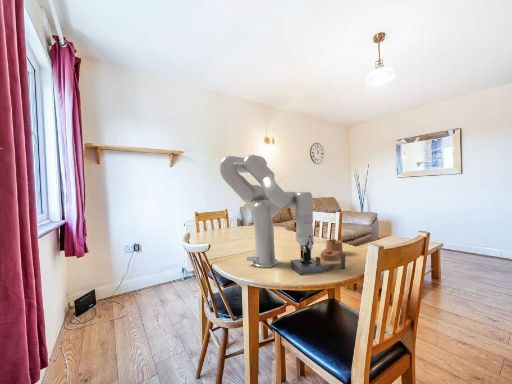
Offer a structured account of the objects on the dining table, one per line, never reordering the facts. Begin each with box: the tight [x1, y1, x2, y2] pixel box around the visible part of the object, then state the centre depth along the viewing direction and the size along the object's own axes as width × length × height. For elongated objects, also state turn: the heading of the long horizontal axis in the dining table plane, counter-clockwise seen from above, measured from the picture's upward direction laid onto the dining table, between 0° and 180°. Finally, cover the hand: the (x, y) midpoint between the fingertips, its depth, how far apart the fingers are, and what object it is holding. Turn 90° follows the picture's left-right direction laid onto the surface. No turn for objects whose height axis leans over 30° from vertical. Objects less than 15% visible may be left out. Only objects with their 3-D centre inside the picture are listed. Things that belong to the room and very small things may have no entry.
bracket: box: [320, 238, 344, 262], centre depth 124 cm, size 18×8×7 cm, turn 146°
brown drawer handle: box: [315, 253, 347, 272], centre depth 104 cm, size 14×2×6 cm, turn 101°
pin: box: [303, 244, 309, 265], centre depth 106 cm, size 3×3×10 cm
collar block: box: [290, 257, 324, 276], centre depth 106 cm, size 11×11×3 cm
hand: (305, 258), depth 106 cm, fingers closed on pin, 2 cm apart
